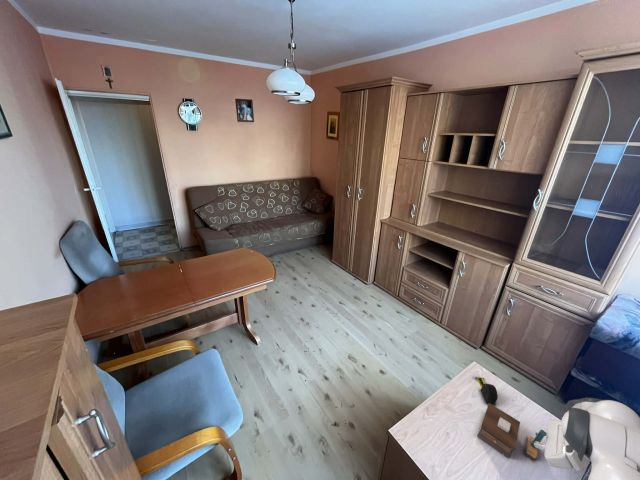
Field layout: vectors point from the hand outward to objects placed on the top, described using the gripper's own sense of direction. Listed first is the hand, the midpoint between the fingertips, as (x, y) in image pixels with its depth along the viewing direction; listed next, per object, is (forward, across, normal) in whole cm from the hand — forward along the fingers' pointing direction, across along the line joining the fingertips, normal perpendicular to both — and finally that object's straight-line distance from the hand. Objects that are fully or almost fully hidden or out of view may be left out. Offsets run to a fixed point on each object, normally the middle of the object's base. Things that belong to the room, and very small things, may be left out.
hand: (535, 439), depth 112 cm
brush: (+5, 0, +6) cm, 7 cm away
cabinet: (+14, +4, -4) cm, 15 cm away
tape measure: (+20, -16, -10) cm, 28 cm away
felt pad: (+8, +4, -8) cm, 12 cm away
